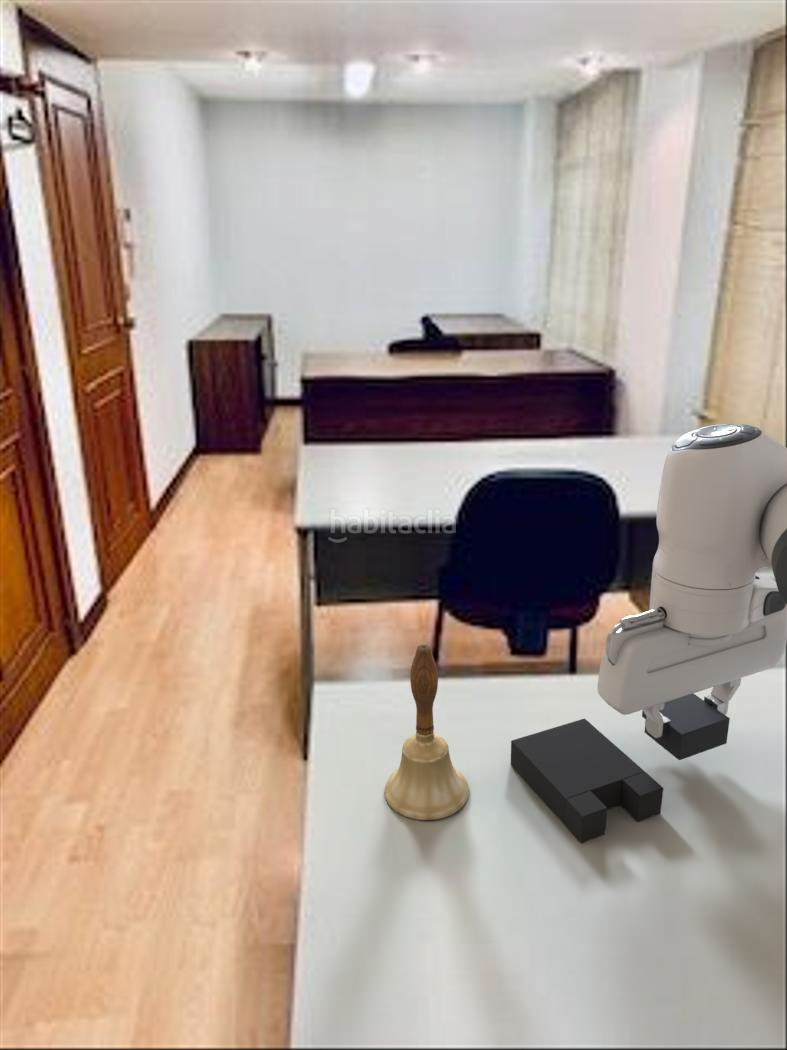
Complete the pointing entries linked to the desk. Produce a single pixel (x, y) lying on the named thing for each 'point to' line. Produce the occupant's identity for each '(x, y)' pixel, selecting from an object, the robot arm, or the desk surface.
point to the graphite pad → (692, 727)
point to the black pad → (584, 777)
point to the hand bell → (425, 756)
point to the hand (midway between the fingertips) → (686, 723)
